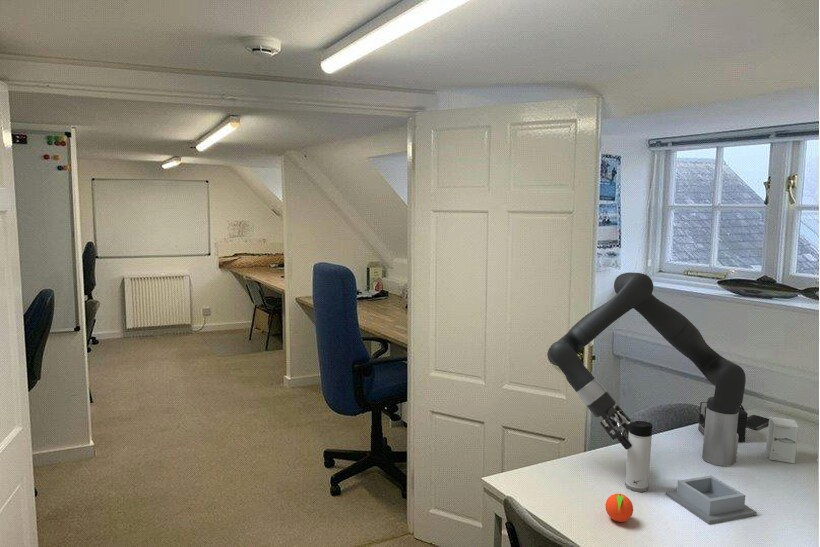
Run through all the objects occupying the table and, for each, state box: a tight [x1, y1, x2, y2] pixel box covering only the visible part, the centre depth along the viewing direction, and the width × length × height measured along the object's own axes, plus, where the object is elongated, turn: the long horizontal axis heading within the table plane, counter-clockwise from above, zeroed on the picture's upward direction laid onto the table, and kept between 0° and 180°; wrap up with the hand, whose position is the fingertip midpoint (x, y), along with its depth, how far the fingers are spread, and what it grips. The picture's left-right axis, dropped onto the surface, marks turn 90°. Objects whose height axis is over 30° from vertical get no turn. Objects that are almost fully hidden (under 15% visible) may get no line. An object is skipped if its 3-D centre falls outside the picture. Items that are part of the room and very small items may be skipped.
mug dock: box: [664, 474, 757, 525], centre depth 165 cm, size 16×16×5 cm
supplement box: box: [765, 416, 800, 464], centre depth 196 cm, size 7×7×13 cm
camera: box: [697, 401, 749, 443], centre depth 214 cm, size 11×14×15 cm
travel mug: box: [624, 420, 653, 493], centre depth 174 cm, size 6×7×20 cm
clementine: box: [605, 493, 634, 523], centre depth 156 cm, size 8×7×7 cm
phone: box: [746, 414, 769, 431], centre depth 227 cm, size 8×1×15 cm
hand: (632, 442), depth 174 cm, fingers open, 8 cm apart
